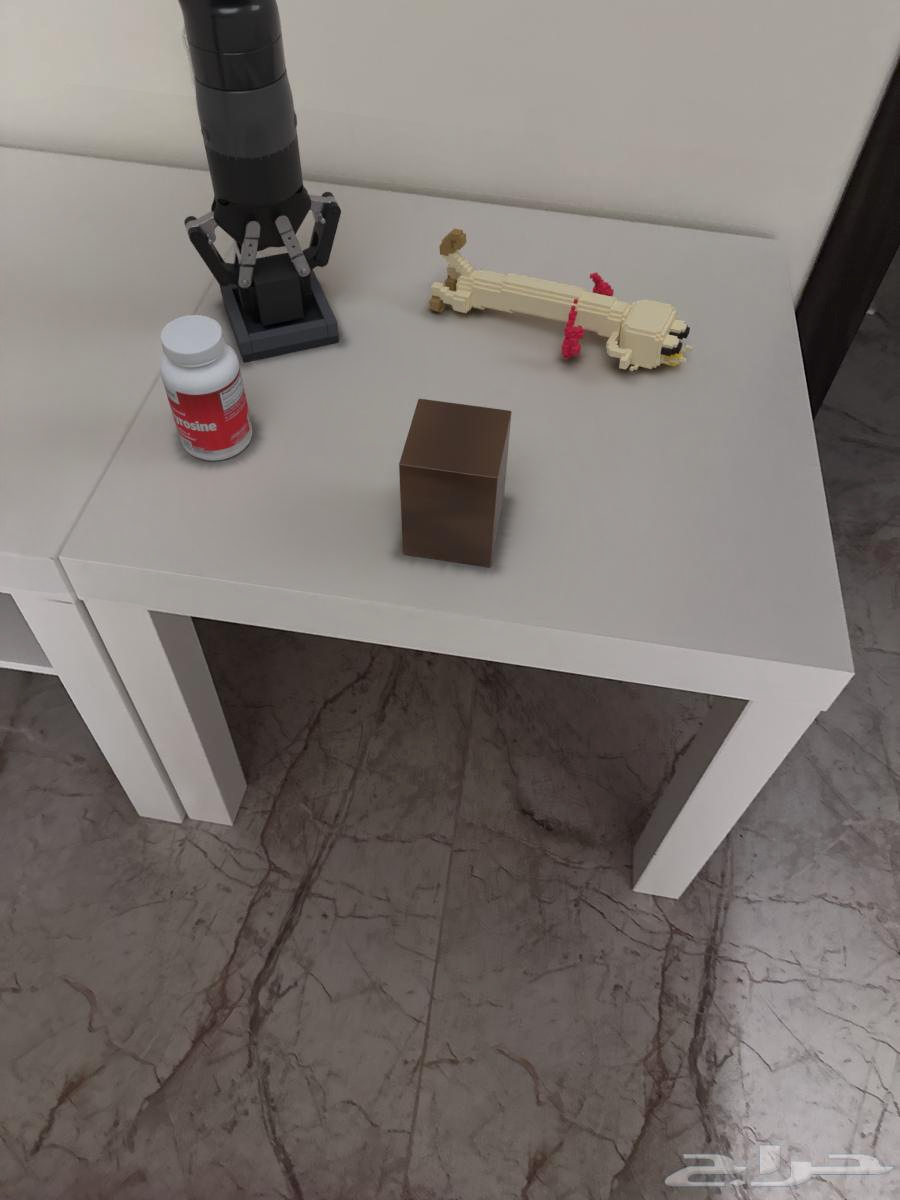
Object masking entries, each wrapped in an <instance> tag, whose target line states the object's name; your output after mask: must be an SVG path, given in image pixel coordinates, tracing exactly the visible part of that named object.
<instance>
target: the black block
mask: <svg viewBox="0 0 900 1200" xmlns="http://www.w3.org/2000/svg"><path fill="white" fill-rule="evenodd" d="M252 282H253V284H254V287H255V292H256V298H257V304H258V309H259V315H260V320H261V323H262V326H266V325H271V324H276V323H281V322H286V321H291V320H295V319H300V318H304V313H303V305H302V298H301V290H300V283H299V276H298V274H297V272H296V269H295V267H294V265H293V262H292V260H291V257H290V255H289V253H288V252H283V253H278V254H272V255H267V256H261V257H256V264H255V266H254V267H253V276H252Z"/></svg>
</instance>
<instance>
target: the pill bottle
mask: <svg viewBox="0 0 900 1200" xmlns="http://www.w3.org/2000/svg"><path fill="white" fill-rule="evenodd" d="M160 342H161V346H162V351H163V353H164V354H163V356H162V358H161V360H160V365H159V371H160V376H161V380H162V384H163V386H164V389H165V393H166V396H167V400H168V404H169V407H170V410H171V413H172V417H173V420H174V424H175V427H176V430H177V435H178V437H179V440H180V443H181V445H182V447H183V449H184V450H185V451H186V452H187V453H188V454H190V455H191V456H193V457H195V458H197V459H200V460H205V461H209V462H211V461H212V462H213V461H214V462H217V461H223V460H227V459H229V458H232V457H235V456H237V455H238V454H240V453H241V452H242V451H244V450H245V449H246V447H247V446H248V445H249V444H250V443H251V439H252V437H253V425H252V420H251V415H250V411H249V410H250V409H249V405H248V400H247V395H246V391H245V386H244V380H243V377H242V372H241V366H240V362H239V357H238V355H237V354H236V353H237V352H236V351H235V350H234V348H232V347H231V346H230V345H229V344H228V343H226V339H225V336H224V333H223V328H222V327H221V325H220V323H219V322H218V321H217V320H215V319H214V318H212V317H209V316H206V315H202V314H188V315H183V316H180V317H177V318H174V319H172V320H171V321H169V322H168V323H167V324H165V326H164V327H163V328H162V330H161V333H160Z"/></svg>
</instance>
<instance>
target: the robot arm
mask: <svg viewBox="0 0 900 1200" xmlns="http://www.w3.org/2000/svg"><path fill="white" fill-rule="evenodd" d="M177 2H178V4H179V8H180V10H181V13H182V17H183V24H184V32H185V36H186V42H187V48H188V53H189V57H190V58H189V59H190V62H191V68H192V73H193V78H194V86H195V87H194V88H195V102H196V103H195V104H196V110H197V114H198V120H199V126H200V131H201V136H202V140H203V145H204V149H205V156H206V160H207V165H208V169H209V174H210V180H211V184H212V190H213V200H212V203H211V205H210V207H211V208H210V211H209V212H207V213H206V214H204V215H202V216H200V217H198V218H197V217H196V216H194V215H190V216H187V217H186V218H185V219H184V222H183V223H184V226H185V229H186V233H187V235H188V238H189V241H190V242H191V244H192V246H193V247H194V248H195V250H196V252H197V253H198V255H199V257H200V258H201V259H202V261H203V262H204V264H205V265H206V267H207V268H208V270H209V271H210V273H211V275H212V276H213V278H214V279H215V280H216V282H217V284H218V285H219V286H220V285H221V286H227V285H229V284H235V285H237V286H238V291H239V296H240V301H241V304H242V307H243V310H244V312H245V313H246V315H252V318H253V320H257V319H260V315H259V309H258V304H257V298H256V292H255V287H254V284H253V282H252V276H253V267H254V266H255V264H256V258H257V255H258V252H262V251H264V250H266V249H268V248H284V247H285V248H286V252H287V253H289V256H290V258H291V260H292V262H293V265H294V267H295V269H296V272H297V274H298V276H299V283H300V290H301V298H302V305H303V310H306V309H307V303H311V302H312V298H313V296H312V288H311V280H310V273H311V271H312V270H314V269H316V268H317V267H318V268H324V267H326V266H327V265H328V264H329V260H330V257H331V253H332V250H333V246H334V242H335V238H336V235H337V230H338V226H339V223H340V218H341V214H342V210H341V207H340V205H339V203H338V201H337V200H336V197H335V196H334V194H333V193H332V192H331V191H325V192H323V193H322V194H321V195H316V194H309V192H308V190H307V188H306V187H305V185H304V180H303V172H302V171H303V170H302V164H301V162H302V161H301V154H300V146H299V136H298V130H297V129H298V128H297V127H298V117H297V113H296V110H295V103H294V98H293V93H292V92H293V91H292V88H291V84H290V80H289V76H288V71H287V65H286V57H285V48H284V41H283V31H282V23H281V17H280V11H279V6H278V3H277V0H177ZM310 211H311V215H312V217H313V219H314V225H313V228H312V233H311V237H310V241H309V245H308V247H307V248H305V249H304V250H303V249H302V247H301V244H300V243H299V240H298V238H297V234H298V232H299V230H300V228H301V226H302V225H303V223H304V221H305V219H306V217H307V215H308V214H309V212H310ZM217 227H219V228H221V229H222V230H223V232H225V233H226V234H227V235H228V236H230V238H232V239H233V249H234V251H233V252H234V253H233V263H232V262H226V261H225V260H224V258H223V257H222V255H221V253H220V252H219V250H218V248H217V247H216V245H214V244H215V242H216V240H217V235H216V228H217Z"/></svg>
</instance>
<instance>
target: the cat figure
mask: <svg viewBox="0 0 900 1200" xmlns="http://www.w3.org/2000/svg"><path fill="white" fill-rule="evenodd" d="M466 244H467V233H464V229H459V228H453V229H452V230H450V232H448V233H447V235H445V236H444V237H443V238H442V239H441V242H440V244H439V246H438V247H439V255H440V256H442V258H443V259H445V261H446V263H448V265H447V266H446V270H447V271H446V274H447V275H446V276H447V278H446V279H445V280H444V283H443V282H438V281H434V282H433V283H432V285H431V286H430V293H431V298H430V299H429V300H428V304H429V310H431V311H433V312H435V313H440V314H442V313H443V312H444V311H445V308H446V305H451V308H452V311H455V312H457V313H463V314H467V313H468V312H470V311H471V309H472V308H474V309H479V310H483V311H484V310H485V309H489V310H495V311H498V312H503V313H508V314H513V313H514V312H516V313H519V314H524V315H529V316H535V317H537V318H542V319H543V318H544V319H548V320H552V321H556V322H562V323H565V327H564V334H563V335H564V339H563V341H562V345H561V353H560V354H561V355H562V356H563V358H562V359H564V360H567V359H569V360H570V359H571V358H573V357H574V356H578V357H579V356H580V353H581V351H582V349H581V348H582V343H579V342H580V340H583V339H584V335H585V333H586V331H589V332H594V333H596V334H597V335H598V336H600V337H603V338H608V339H607V341H606V343H605V349H606V354H608V356H609V357H612V358H616V359H619V365H618V369H621V370H627V369H628V368H629V372H633V371H634V370H635V371H637V370H638V369H639V368H640V367H641V368H645V369H650V370H652V369H653V368H654V369H656V368H657V367H660V366H661V364H663V365H666V366H672V367H676V366H681V363H686V362H687V357H685V356H684V354H683V353H685V352H686V351H688V352H692V350H693V346H692V345H688V344H686V345H685V346H683V342H682V341H683V339H688V337H689V334H690V330H691V327H690V326H689V324H688V323H686V321H685V320H681V319H677V316H678V311H677V310H676V309H675V306H673V305H672V304H670V303H665V302H660V301H655V300H651V299H646V298H642V300H641V299H638V300H637V301H633V302H632V304H630V303H629V302H626V301H620V300H618V298H617V297H615V296H614V291H615V290H614V289H613V288H612V285H611V284H609V282H606V281H604V279H603V278H602V276H601V275H600V274H599V273H598V272H592V273H590V274H589V279H592V282H593V284H594V286H593V287H592V292H591V291H588V290H587V289H586V288H585V287H581V286H578V285H577V286H576V285H572V284H566V283H562V282H557V281H553V280H548V279H542V278H538V277H533V276H528V275H523V274H518V273H514V272H508V273H507V274H504V273H499V272H496V271H495V272H494V271H490V270H486V269H475V268H474V266H471V263H469V262H468V260H467V259H465V256H463V255H462V253H461V252H459V251H460V250H461V249H463V248H464V246H465V245H466ZM444 285H445V286H444ZM630 365H631V366H630ZM629 366H630V367H629Z"/></svg>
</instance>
